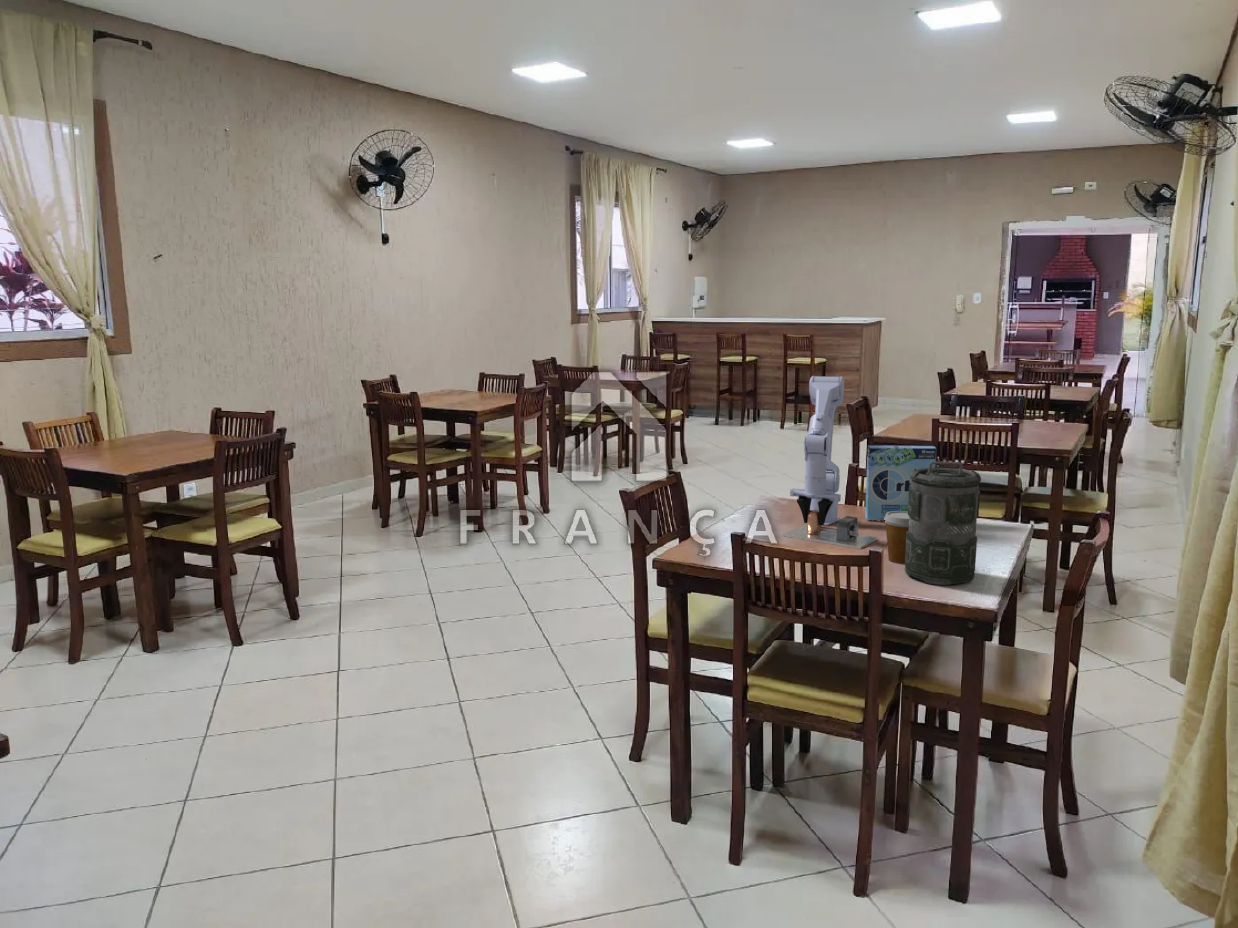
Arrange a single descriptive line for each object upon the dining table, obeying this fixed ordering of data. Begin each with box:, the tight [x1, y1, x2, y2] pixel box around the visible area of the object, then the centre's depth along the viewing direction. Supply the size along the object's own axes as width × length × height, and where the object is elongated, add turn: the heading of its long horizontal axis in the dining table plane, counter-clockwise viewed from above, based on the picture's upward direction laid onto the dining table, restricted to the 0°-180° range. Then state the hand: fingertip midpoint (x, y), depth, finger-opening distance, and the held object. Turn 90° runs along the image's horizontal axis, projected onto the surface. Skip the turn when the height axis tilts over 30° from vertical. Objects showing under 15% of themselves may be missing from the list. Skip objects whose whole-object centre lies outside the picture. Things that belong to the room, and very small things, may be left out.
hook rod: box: [806, 510, 860, 536], centre depth 240 cm, size 15×4×6 cm, turn 52°
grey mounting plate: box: [782, 515, 878, 550], centre depth 241 cm, size 12×23×6 cm, turn 52°
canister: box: [904, 461, 982, 586], centre depth 203 cm, size 16×16×28 cm
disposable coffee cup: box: [884, 511, 909, 565], centre depth 218 cm, size 10×10×12 cm
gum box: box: [864, 444, 937, 522], centre depth 259 cm, size 19×5×23 cm, turn 82°
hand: (814, 523), depth 244 cm, fingers closed on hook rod, 4 cm apart
